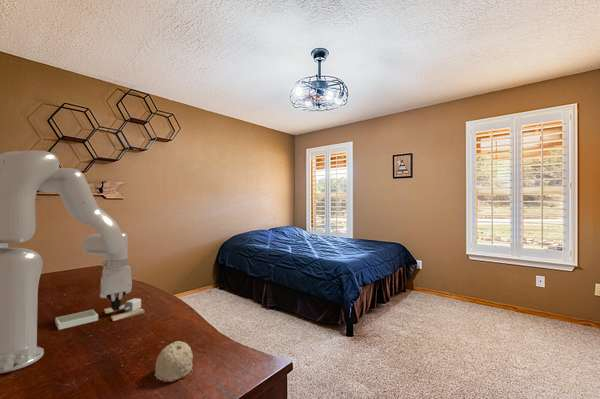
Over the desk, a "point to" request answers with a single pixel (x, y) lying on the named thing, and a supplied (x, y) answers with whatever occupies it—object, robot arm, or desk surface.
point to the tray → (76, 319)
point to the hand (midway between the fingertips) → (115, 309)
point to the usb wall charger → (132, 305)
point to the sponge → (174, 361)
